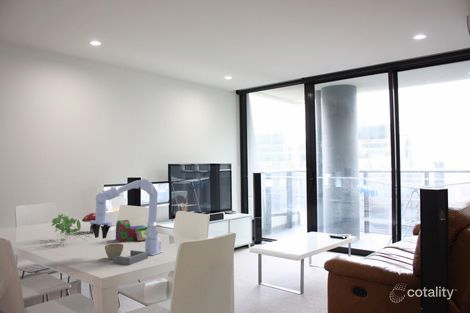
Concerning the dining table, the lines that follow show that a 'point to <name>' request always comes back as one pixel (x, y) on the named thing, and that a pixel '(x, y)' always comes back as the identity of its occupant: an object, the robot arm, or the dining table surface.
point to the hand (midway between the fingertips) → (100, 237)
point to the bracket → (134, 257)
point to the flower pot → (113, 250)
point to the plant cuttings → (66, 225)
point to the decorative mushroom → (90, 219)
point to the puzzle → (130, 232)
